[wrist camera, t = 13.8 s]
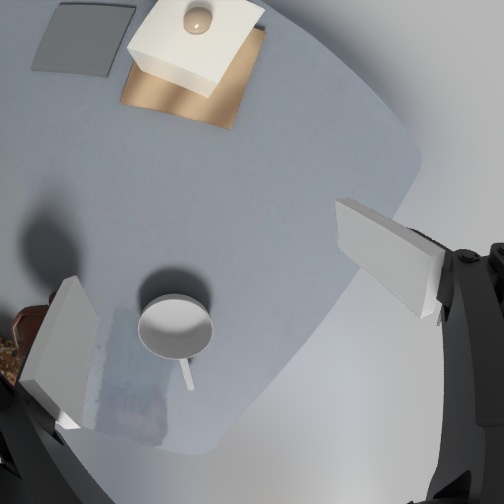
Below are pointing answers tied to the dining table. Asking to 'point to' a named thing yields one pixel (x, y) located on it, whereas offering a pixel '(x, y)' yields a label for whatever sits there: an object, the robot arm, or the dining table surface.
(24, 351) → the ice cream bowl
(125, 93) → the board
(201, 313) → the saucepan
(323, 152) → the dining table surface
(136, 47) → the knobbed white box
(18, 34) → the dining table surface
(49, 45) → the mat
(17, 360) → the bread
